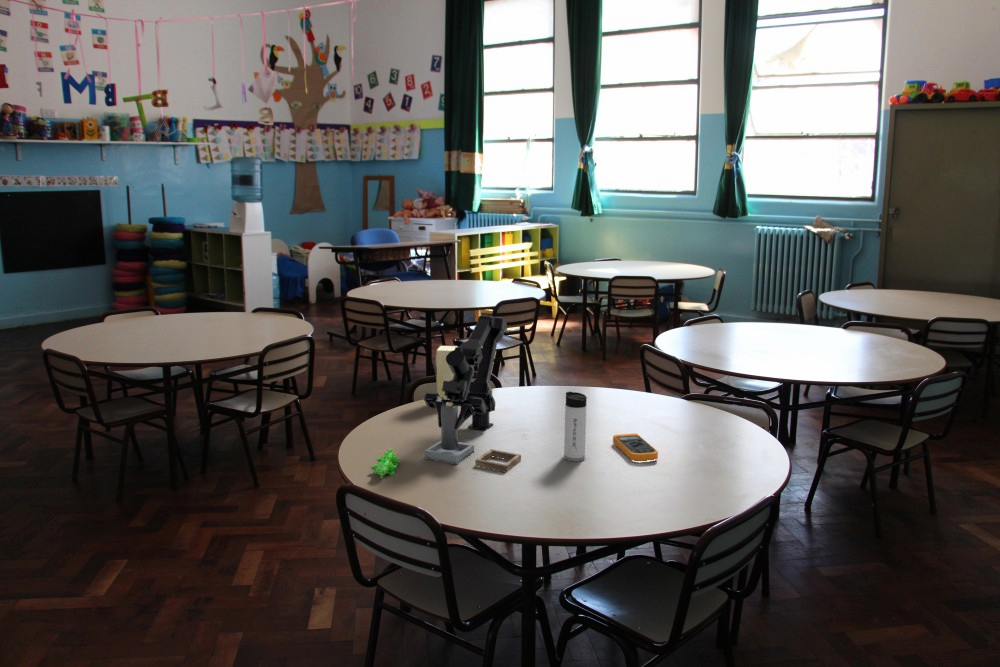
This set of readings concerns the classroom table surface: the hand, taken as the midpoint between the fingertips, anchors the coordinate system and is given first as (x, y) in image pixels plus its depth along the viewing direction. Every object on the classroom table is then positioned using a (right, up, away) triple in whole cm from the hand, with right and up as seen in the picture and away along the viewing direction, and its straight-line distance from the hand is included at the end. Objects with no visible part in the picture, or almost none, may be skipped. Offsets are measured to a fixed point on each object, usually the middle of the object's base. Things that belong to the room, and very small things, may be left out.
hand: (447, 427), depth 235 cm
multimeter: (+57, -9, +8) cm, 58 cm away
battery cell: (0, -6, +3) cm, 7 cm away
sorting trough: (0, -9, +3) cm, 9 cm away
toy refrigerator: (-4, +2, +54) cm, 55 cm away
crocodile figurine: (-17, -11, -8) cm, 22 cm away
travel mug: (+38, -9, +3) cm, 39 cm away
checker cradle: (+15, -10, -3) cm, 18 cm away
